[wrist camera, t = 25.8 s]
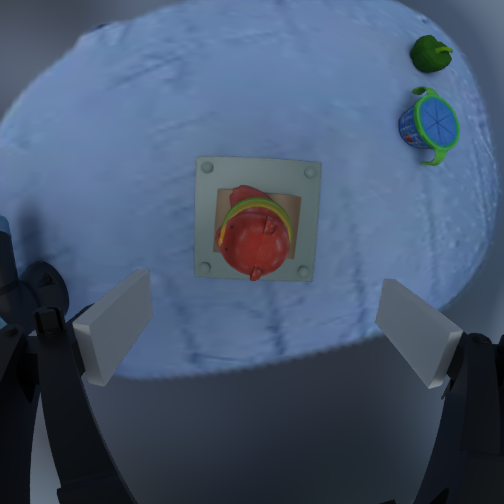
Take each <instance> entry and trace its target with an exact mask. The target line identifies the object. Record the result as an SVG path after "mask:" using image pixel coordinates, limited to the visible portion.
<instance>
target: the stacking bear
mask: <svg viewBox="0 0 504 504" xmlns="http://www.w3.org/2000/svg"><path fill="white" fill-rule="evenodd" d="M229 199H230V204H231V209H230V210H229V211H228V213H227V214H226V216H225V218H224V221H223V224H222V226H221V227H220V228H219V229H218V230H217V232H216V237H215V242H216V243H217V246H218V247H219V248H220V251H221V254H222V256H223V258H224V259H225V261H226V262H227V263H228V264H229V265H230V266H231V267H232V268H233V269H235V270H236V271H238V272H240V273H242V274H245V275H249V276H250V280H251V281H256V280H258V279H260V277H261V276H264V275H268V274H270V273H272V272H274V271H276V270H277V269H278V268H279V267H280V266H281V265H282V264H283V263H284V262H285V260H286V258H287V256H288V253H289V248H290V246H291V242H292V236H293V230H292V224H291V221H290V219H289V217H288V215H287V213H286V212H285V210H284V209H283V208H282V207H281V206H280V205H278V204H277V203H275V202H274V201H273V200H272V199H271V198H270V197H269V196H267V195H266V194H265V193H263V192H262V191H260V190H258V189H256V188H253V187H251V186H247V185H240V186H239V187H238V188H237V187H236V188H234V189H233V193H232V194H231V195H230V198H229Z"/></svg>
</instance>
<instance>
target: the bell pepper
mask: <svg viewBox="0 0 504 504" xmlns="http://www.w3.org/2000/svg"><path fill="white" fill-rule="evenodd" d="M449 52H451V53H453V50H452V49H451V48H449V47H447V46H446V45H445V44H443V43H442V42H437V40H436V39H435V38H434V37H433V36H432V35H426V36H422V37H420V38H419V39H418V40H417V41H416V43H415V45H414V47H413V49H412V51H411V58H413V59H414V64H415V66H416V67H417V68H418V69H419V70H421V71H424V72H427V73H429V72H435V71H439V70H442V69H444V68H445V67H446V66H448V65H449V63H450V62H451V60H452V58H451V56H450V54H449Z"/></svg>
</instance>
